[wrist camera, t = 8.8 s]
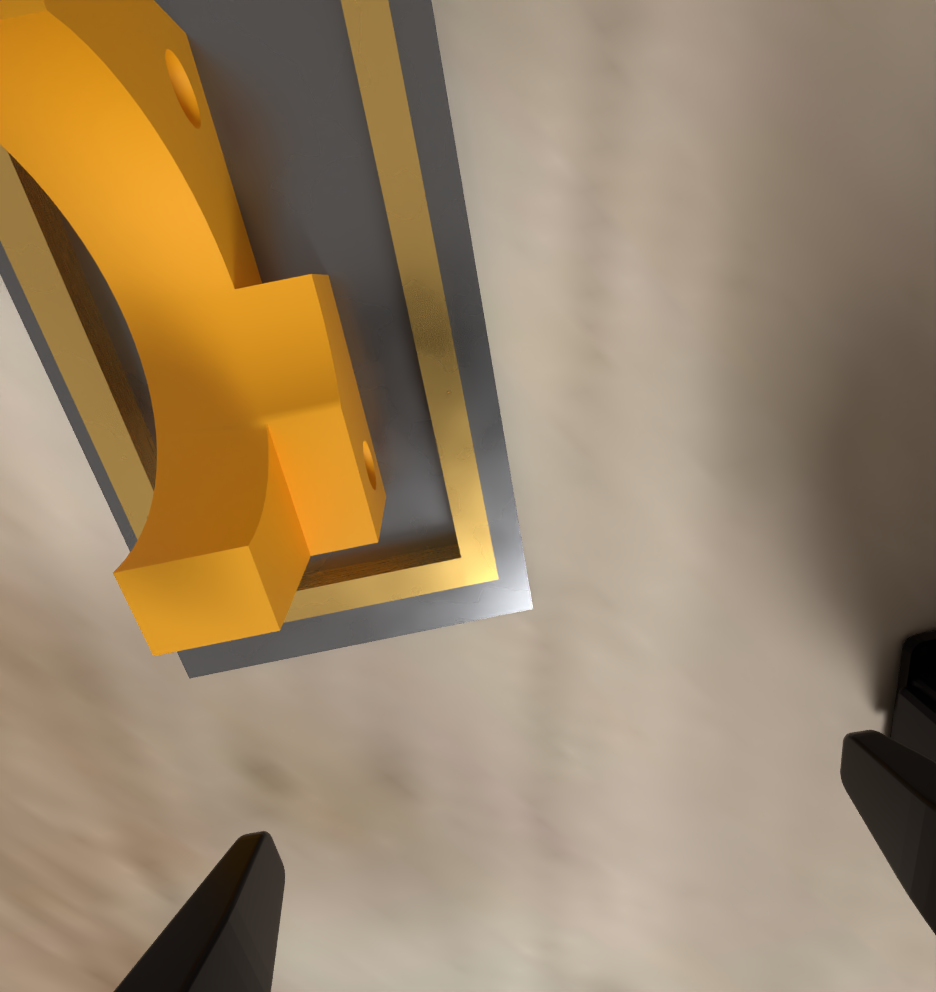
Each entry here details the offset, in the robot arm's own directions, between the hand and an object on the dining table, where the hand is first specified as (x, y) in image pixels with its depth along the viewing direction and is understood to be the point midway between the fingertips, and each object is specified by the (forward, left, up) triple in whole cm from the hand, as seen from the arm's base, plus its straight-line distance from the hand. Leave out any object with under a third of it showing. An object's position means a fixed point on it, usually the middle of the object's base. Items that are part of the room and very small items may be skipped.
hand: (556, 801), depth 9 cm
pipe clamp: (+5, -8, -10) cm, 14 cm away
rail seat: (+5, -8, -10) cm, 14 cm away
